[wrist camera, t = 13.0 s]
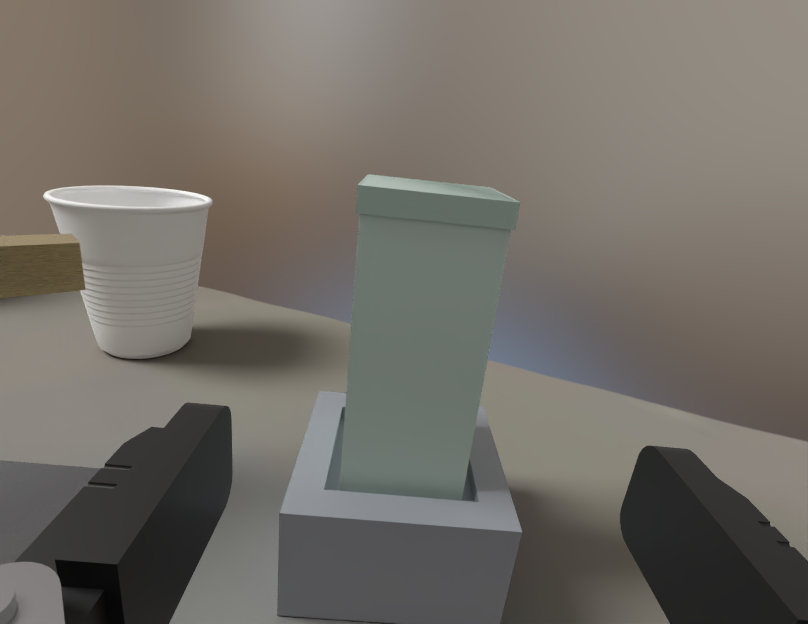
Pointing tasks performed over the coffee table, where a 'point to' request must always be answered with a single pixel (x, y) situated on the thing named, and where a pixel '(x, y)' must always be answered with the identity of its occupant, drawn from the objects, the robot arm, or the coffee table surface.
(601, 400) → the coffee table surface
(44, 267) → the brown piece
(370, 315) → the cover
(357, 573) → the housing
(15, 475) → the plate
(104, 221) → the cup
